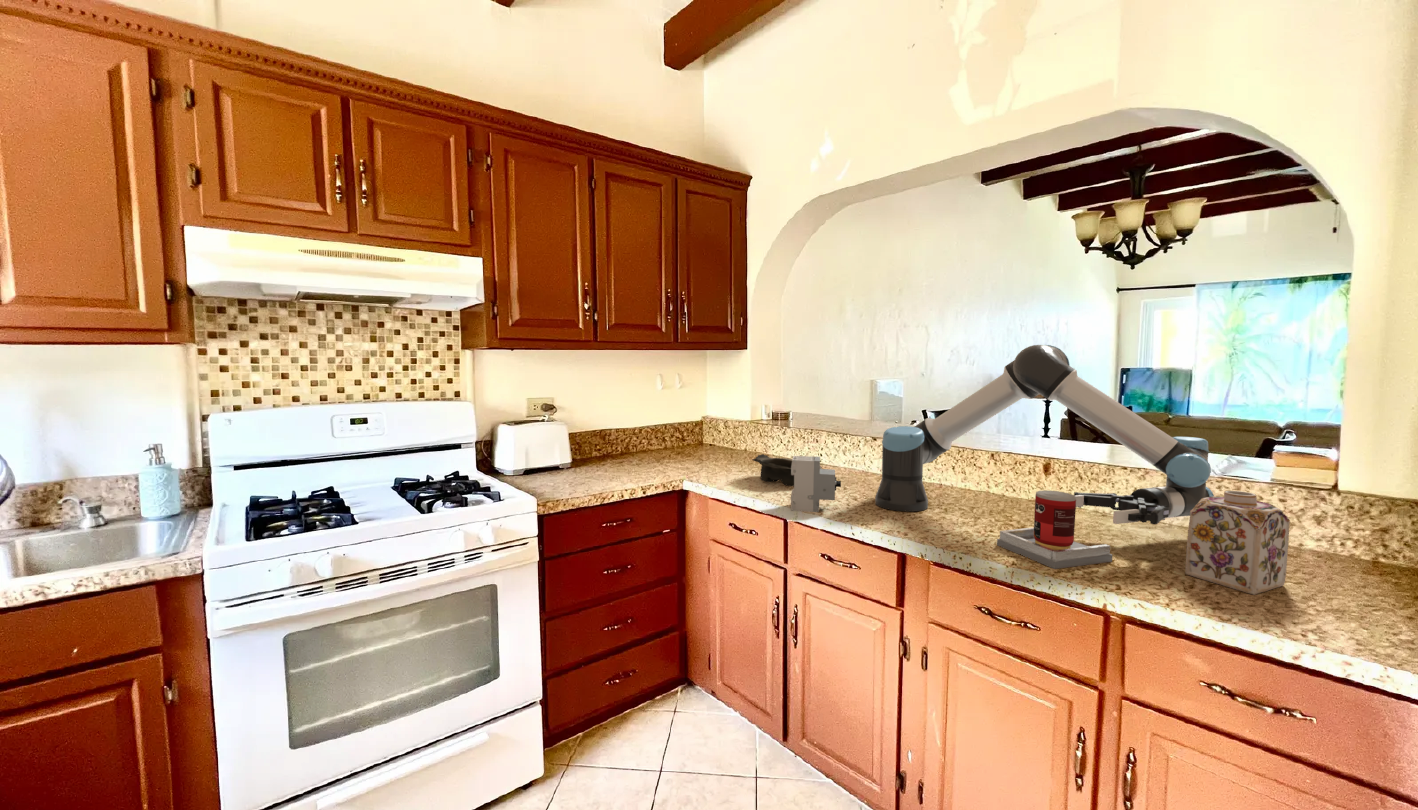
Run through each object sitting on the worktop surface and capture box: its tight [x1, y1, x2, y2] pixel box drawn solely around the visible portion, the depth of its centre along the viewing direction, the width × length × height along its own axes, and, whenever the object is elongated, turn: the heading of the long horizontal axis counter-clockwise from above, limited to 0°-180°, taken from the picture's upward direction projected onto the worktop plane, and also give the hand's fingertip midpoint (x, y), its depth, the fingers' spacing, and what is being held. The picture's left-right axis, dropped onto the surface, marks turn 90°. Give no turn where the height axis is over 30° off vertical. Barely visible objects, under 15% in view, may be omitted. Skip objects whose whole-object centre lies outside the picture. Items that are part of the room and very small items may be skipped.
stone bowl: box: [751, 454, 823, 487], centre depth 206 cm, size 25×25×9 cm
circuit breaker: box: [790, 455, 842, 513], centre depth 168 cm, size 8×14×15 cm, turn 78°
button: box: [1035, 540, 1071, 550], centre depth 130 cm, size 7×7×2 cm
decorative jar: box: [1184, 490, 1291, 595], centre depth 114 cm, size 12×12×18 cm
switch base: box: [996, 526, 1113, 570], centre depth 130 cm, size 16×16×4 cm
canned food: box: [1033, 489, 1077, 547], centre depth 129 cm, size 8×8×11 cm
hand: (1086, 509), depth 132 cm, fingers open, 13 cm apart
